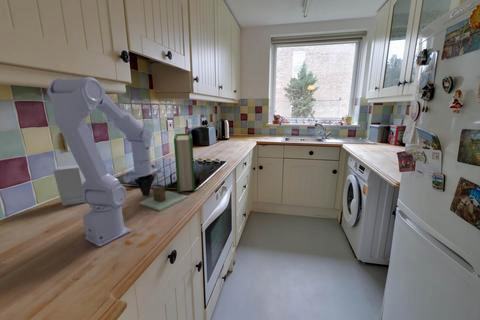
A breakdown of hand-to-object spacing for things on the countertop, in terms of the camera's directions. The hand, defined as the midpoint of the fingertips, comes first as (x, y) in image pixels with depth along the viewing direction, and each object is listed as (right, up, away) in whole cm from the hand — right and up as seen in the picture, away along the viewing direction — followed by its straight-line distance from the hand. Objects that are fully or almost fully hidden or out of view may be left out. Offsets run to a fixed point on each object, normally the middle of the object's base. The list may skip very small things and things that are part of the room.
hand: (146, 195), depth 84 cm
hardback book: (+9, 0, +25) cm, 26 cm away
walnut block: (+3, -3, +6) cm, 7 cm away
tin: (-12, +1, +30) cm, 33 cm away
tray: (+4, -3, +8) cm, 9 cm away
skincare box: (-31, -4, +7) cm, 32 cm away
